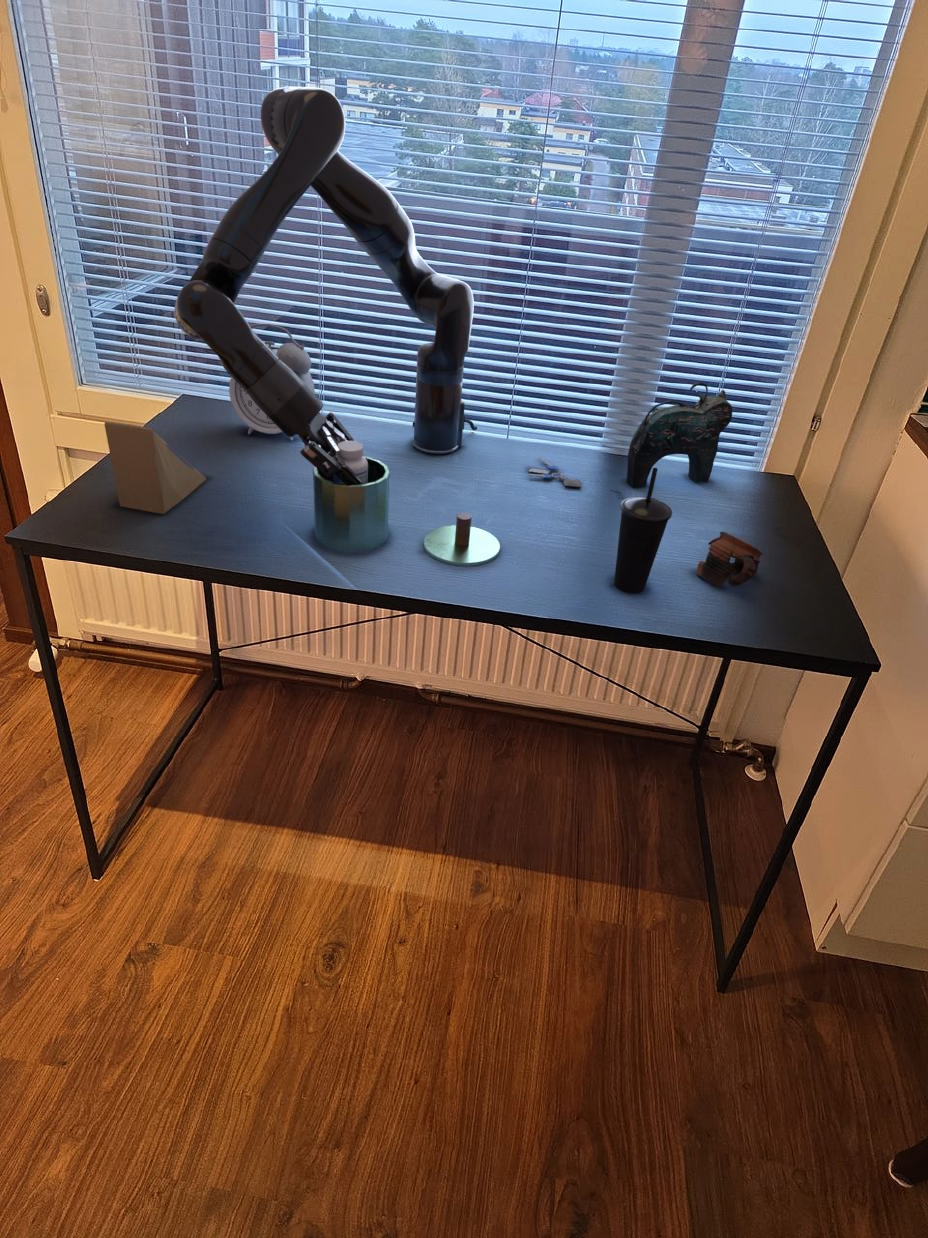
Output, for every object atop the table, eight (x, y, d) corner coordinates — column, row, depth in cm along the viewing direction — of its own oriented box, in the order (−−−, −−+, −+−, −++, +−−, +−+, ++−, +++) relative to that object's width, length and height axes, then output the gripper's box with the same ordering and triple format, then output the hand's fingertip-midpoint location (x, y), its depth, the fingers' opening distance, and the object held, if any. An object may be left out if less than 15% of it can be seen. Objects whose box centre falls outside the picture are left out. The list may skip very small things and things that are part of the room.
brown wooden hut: (681, 566, 137) (707, 522, 136) (724, 588, 141) (749, 546, 139) (718, 588, 126) (746, 540, 125) (763, 611, 130) (791, 565, 128)
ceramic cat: (703, 471, 170) (728, 376, 159) (721, 485, 165) (747, 387, 154) (618, 478, 164) (638, 379, 153) (633, 492, 159) (655, 391, 148)
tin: (363, 514, 143) (363, 449, 136) (400, 543, 136) (403, 476, 129) (302, 530, 137) (300, 463, 130) (338, 561, 129) (337, 492, 123)
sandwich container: (208, 478, 150) (200, 398, 142) (165, 514, 138) (152, 429, 129) (165, 470, 152) (154, 391, 143) (118, 505, 139) (103, 420, 131)
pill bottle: (336, 493, 135) (336, 436, 130) (369, 496, 135) (370, 439, 130) (331, 508, 130) (330, 450, 125) (364, 511, 131) (365, 453, 125)
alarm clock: (228, 434, 167) (218, 324, 155) (244, 420, 175) (236, 313, 162) (306, 445, 166) (302, 335, 154) (319, 430, 173) (317, 323, 161)
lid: (468, 525, 143) (471, 492, 140) (514, 556, 135) (519, 523, 132) (408, 542, 136) (409, 508, 133) (453, 576, 128) (456, 542, 125)
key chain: (587, 486, 160) (588, 482, 159) (554, 494, 155) (555, 490, 155) (542, 459, 169) (542, 456, 168) (510, 466, 165) (511, 463, 164)
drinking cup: (658, 581, 132) (686, 465, 121) (646, 603, 126) (675, 484, 115) (612, 568, 134) (636, 453, 123) (599, 589, 128) (622, 471, 117)
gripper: (288, 398, 116) (370, 485, 123) (312, 368, 128) (386, 448, 135) (254, 430, 120) (336, 513, 126) (280, 397, 131) (354, 474, 138)
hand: (361, 479), depth 130 cm, fingers closed on pill bottle, 5 cm apart
